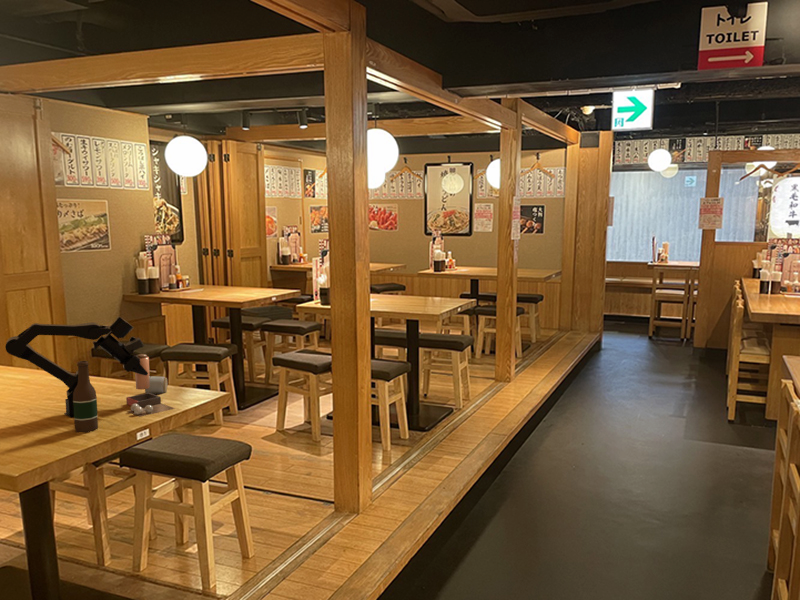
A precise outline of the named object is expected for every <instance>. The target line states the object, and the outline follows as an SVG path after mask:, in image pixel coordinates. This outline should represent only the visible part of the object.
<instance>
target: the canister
mask: <svg viewBox="0 0 800 600" xmlns="http://www.w3.org/2000/svg"><path fill="white" fill-rule="evenodd" d="M137 357H139V358H140V364H141V366H142V367H143V368H144V369H145V370H146V371H147V373H148V374H147V375H142V374H139V373H135V372H134V373H135V389H136V390H145V389H148V388H150V377H149V376H150V357H149V356H148V355H147V354H146V353H141V354H140V353H139V354H137Z"/></svg>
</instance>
